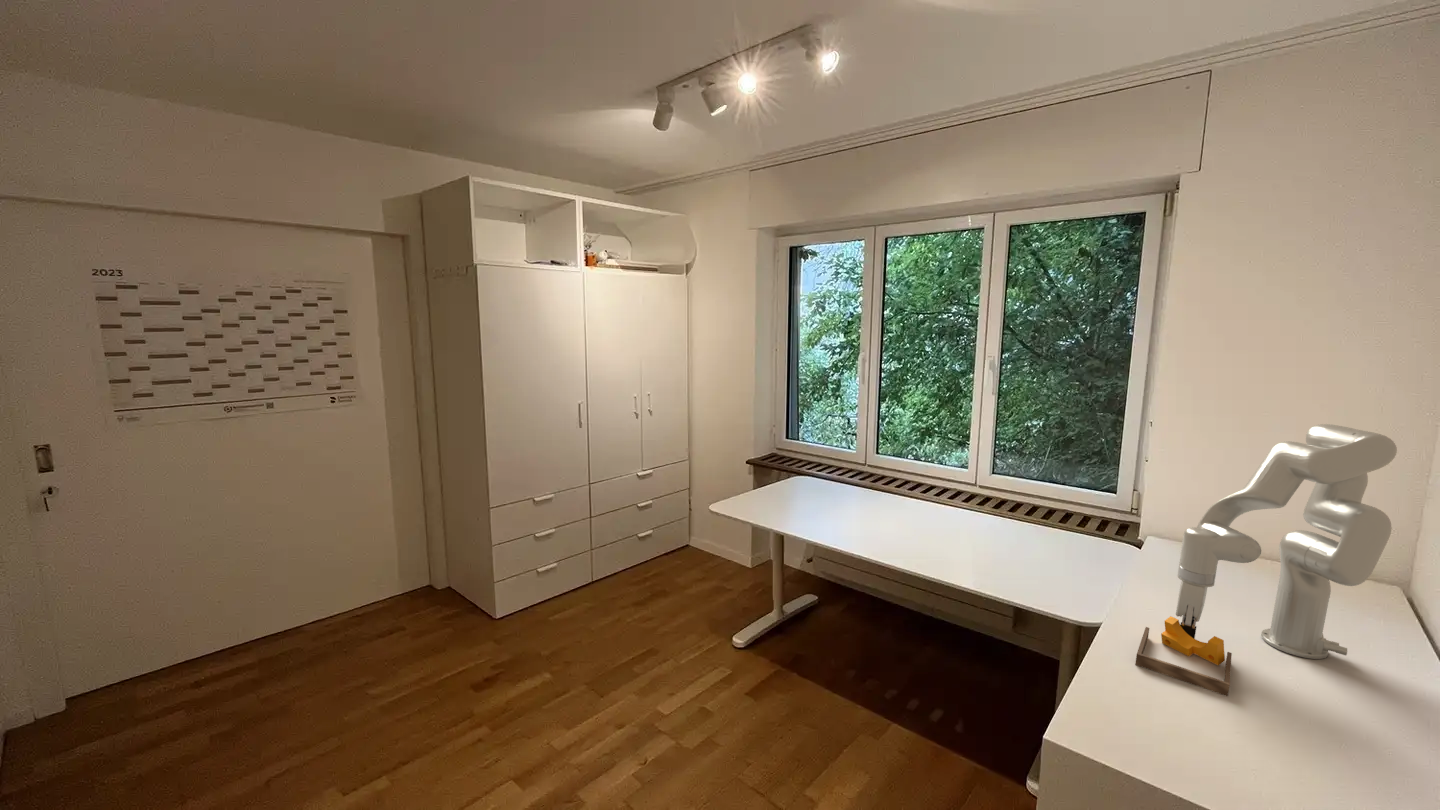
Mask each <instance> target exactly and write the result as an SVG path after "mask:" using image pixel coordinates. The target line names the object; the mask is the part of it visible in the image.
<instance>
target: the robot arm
mask: <svg viewBox="0 0 1440 810" xmlns="http://www.w3.org/2000/svg"><path fill="white" fill-rule="evenodd" d="M1397 451H1398V447H1397V445H1396V442H1395V441H1394V440H1393V439H1391V438H1390V437H1388V436H1386V435H1385V434H1381V433H1377V432H1372V431H1368V430H1363V429H1356V428H1352V427H1349V426H1348V427H1347V426H1342V425H1335V424H1327V423H1325V424H1324V423H1322V424H1316V425H1313V426H1311V427H1310V428H1309V429H1308V430H1307V432H1306V434H1305V443H1303V442H1298V441H1281V442H1278V443H1276V444H1274V446H1273V447H1272V448H1271V449H1270V450H1269V452H1268V453H1267V454H1266V456H1265V457H1264V458H1263V460H1262V462H1261V463H1260V465H1259V466H1258V467H1257V468H1256V470H1255V472H1254V473H1253V475H1251V477H1250V479H1248V482H1247V483H1246V485H1244V487H1243V488H1242V489H1240V490H1238V491H1236V492H1233V493H1231V494H1228V495H1227V496H1225V497H1223V498H1221V499H1219V500H1218V501H1216V502H1215V503H1213V504H1212V505H1211V506H1210V507H1209V508H1208V509H1207V510H1206V511H1205V513H1204V514H1203V516H1202V517H1201V519H1200V520H1199V522H1198V524H1197V526H1196V527H1193V526H1192V527H1188V528H1186V529H1185V530H1184V532H1183V537H1182V542H1181V544H1182V545H1181V547H1180V548H1181V549H1180V557H1179V561H1178V569H1177V575H1176V576H1177V578H1178V579H1179V580H1181V581H1180V584H1179V585H1180V587H1179V591H1178V598H1177V605H1176V611H1175V615H1176V617H1180V618H1182V619H1181V622H1180V625H1181V627H1182V628H1183V630H1184V631H1185V632H1186V633H1187V634H1188V635H1190V636H1191V637H1192V638H1194V639H1196V638H1195V637H1196V634H1197V633H1196V631H1197V627H1198V626H1197V625H1196V624H1197V622H1199V621H1201V620H1200V619H1201V617H1202V613H1203V610H1204V607H1205V604H1206V603H1205V602H1206V598H1207V593H1208V588H1212V587H1214V586H1215V582H1216V576H1217V572H1218V571H1217V570H1218V564H1219V561H1225V562H1230V563H1235V564H1249V563H1251V562H1255V561H1256V560H1258V559H1259V558H1260V556H1261V555H1262V547H1261V545H1260V544H1259V543H1260V542H1258V541H1257V540H1256V539H1255V538H1253V537H1252V536H1250V535H1247V534H1245V533H1243V532H1241V531H1238V530H1237V529H1234V528H1233V527H1230V526H1231V524H1232V523H1233V522H1234V521H1235V520H1236V519H1237V518H1239V517H1240V516H1241V515H1243V514H1245V513H1248V512H1253V511H1258V510H1270V509H1271V510H1273V509H1281V508H1284V507H1286V506H1287V504H1288V503H1289V502H1290V500H1291V499H1292V497H1293V495H1294V494H1295V493H1296V492H1297V490H1298V489H1299V488H1300V486H1301V484H1302V483H1303V482H1304V480H1306V481H1310V482H1313V483H1315V484H1314V486H1313V488H1312V491H1311V493H1310V495H1309V498H1308V499H1307V501H1306V504H1305V507H1304V510H1303V514H1302V516H1303V519H1304V521H1305V522H1306V523H1307V524H1309V525H1310V526H1312V527H1314V528H1317V529H1319V530H1321V531H1323V532H1327V533H1329V534H1331V535H1335V536H1337V537H1340V539H1339V541H1337V540H1335V539H1333V538H1330V537H1327V536H1325V535H1322V534H1319V533H1316V532H1312V531H1309V530H1302V529H1299V530H1297V529H1296V530H1291V531H1289V532H1288V533H1286V534H1285V535H1283V537H1281V539H1280V542H1279V548H1278V550H1279V553H1278V554H1279V559H1280V561H1279V562H1280V571H1279V578H1278V583H1277V590H1276V595H1275V601H1274V607H1273V613H1272V617H1271V622H1270V623H1271V625H1270V628H1266V629H1265V628H1264V629H1263V630H1261V633H1260V637H1261V639H1262V640H1263V641H1264V642H1265V643H1267V644H1268V645H1270V646H1271V647H1273V648H1274V649H1276V650H1279V651H1282V652H1284V653H1287V654H1290V655H1292V656H1296V657H1300V658H1305V659H1310V660H1311V659H1312V660H1313V659H1314V660H1323V659H1326V658H1327V657H1328V654H1329V651H1330V652H1333V653H1336V654H1339V655H1343V656H1347V655H1348V647H1345V646H1340V642H1338V641H1337V642H1336V641H1332V640H1329V639H1328V640H1327V638H1325V637H1324V633H1323V632H1324V628H1325V623H1326V617H1327V613H1328V608H1329V602H1330V598H1331V593H1332V586H1331V582H1334V583H1336V584H1339V585H1340V586H1341V585H1342V586H1344V587H1346V586H1347V587H1356V586H1359V585H1362V584H1363V583H1365V582H1366V581H1367V580H1368V579H1369V578H1370V577H1371V575H1372V574H1373V572H1374V571H1375V568H1376V566H1377V564H1378V562H1379V560H1380V559H1381V556H1382V554H1383V552H1384V549H1386V546H1387V543H1388V541H1389V540H1390V537H1391V534H1392V530H1393V529H1392V528H1393V527H1392V522H1391V519H1390V518H1389V516H1388V514H1386V512H1384V511H1382V510H1381V509H1379V508H1377V507H1375V506H1373V505H1368V504H1366V503H1362V500H1363V498H1364V494H1365V492H1366V489H1367V487H1368V482H1369V476H1368V473H1371V472H1374V471H1377V470H1380V469H1381V468H1384V467H1386V466H1387V465H1389V464H1390V463H1391V462H1393V460H1394V459H1395V458H1396V455H1397ZM1330 581H1331V582H1330Z"/></svg>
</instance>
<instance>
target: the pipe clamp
mask: <svg viewBox="0 0 1440 810" xmlns="http://www.w3.org/2000/svg"><path fill="white" fill-rule="evenodd" d="M1160 636H1161V644H1163V645H1164V646H1167V647H1169V648H1170V649H1173V650H1174V651H1177V652H1179V653H1180V654H1182V655H1185V656H1187V657H1191V656H1192V655H1193V654H1194V655H1196V656H1197V657H1200V658H1202V659H1204V660H1206V661H1208V662H1210V663H1212V664H1214V665H1216V666H1220V665H1221V664H1223V662H1226V657H1225V656H1226V655H1225V642H1224V639H1222V638H1220V637H1218V636H1215V635H1214V636H1213V637H1211V638H1210V639H1209V640H1208V641H1207V642H1204V641H1200V640H1198V639H1196V638H1195V639H1194V638H1192V637H1191V636H1190V635H1188V634H1187V633H1186V632H1185V631H1184V630H1183V628H1182V627H1181V622H1180V621H1179V619H1177V618H1176V617H1173V616H1171V615H1170V616H1169V617H1167V618H1166V619H1165V620H1164V631H1163V632H1162V633H1161V634H1160Z"/></svg>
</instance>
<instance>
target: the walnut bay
mask: <svg viewBox="0 0 1440 810" xmlns="http://www.w3.org/2000/svg"><path fill="white" fill-rule="evenodd" d="M1149 634H1150V627H1149V626H1148V627H1147V626H1145V627H1144V631H1143V634H1142V637H1141V640H1140V643H1139V646H1138V648H1137V653H1136V657H1135V663H1134V664H1135V665H1136V666H1138V667H1141V668H1145V669H1146V670H1150V671H1153V672H1155V673H1159V674H1161V675H1164V676H1167V677H1170V678H1173V679H1175V680H1179V681H1181V682H1184V683H1188V684H1191V685H1194V686H1195V687H1196V686H1197V687H1199V688H1202V689H1204V690H1208V691H1210V692H1213V693H1216V694H1219V695H1223V696H1225V697H1228V696H1229V693H1230V687H1231V686H1230V685H1231V672H1232V669H1231V668H1232V655H1233V653H1232V652H1229V651H1227V654H1226V657H1225V668H1224V679H1223V680H1222V679H1218V678H1215V677H1212V676H1210V675H1206V674H1203V673H1200V672H1197V671H1196V670H1195V671H1194V670H1192V669H1189V668H1185V667H1183V666H1179V665H1176V664H1173V663H1170V662H1168V661H1164V660H1161V659H1157V658H1156V657H1152V656H1150V655H1146V654H1144V651H1145V648H1146V645H1147V643H1148V639H1149Z"/></svg>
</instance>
